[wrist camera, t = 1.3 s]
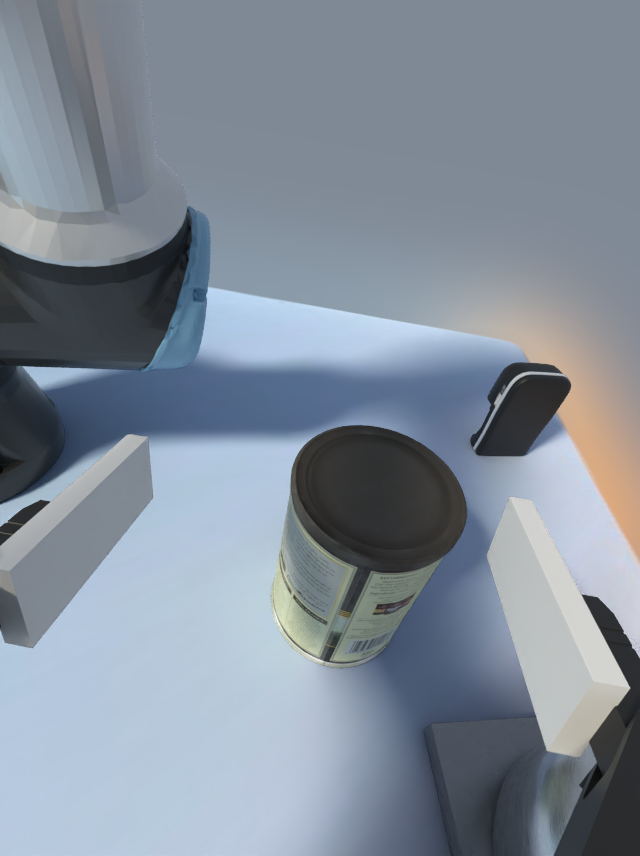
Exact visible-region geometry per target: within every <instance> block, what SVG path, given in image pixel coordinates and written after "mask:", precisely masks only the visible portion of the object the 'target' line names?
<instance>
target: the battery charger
mask: <svg viewBox="0 0 640 856" xmlns="http://www.w3.org/2000/svg"><path fill="white" fill-rule="evenodd" d="M570 389H571V383H570V381H569V379H568V377H567V376H566V375H564V374H562V373H561V372H560V370H559V369H557V368H556V367H555V366H553V365H548V364H539V363H513V364H511V365H509V366H507V367H506V368H505V369H504V370H503V372H502V373H501V374H500V376H499V378H498V379H497V381H496V382H495V384H494V386H493V388H492V389H491V391H490V393H489V395H488V400H489V402H490V403H491V406H490V411H489V413H488V415H487V417H486V419H485V421H484V423H483V425H482V427H481V428H480V430H479V431H478V432H477V433H476V434H473V435H472V437H471V444H472V446H473V449H474V451H475V452H476V453H477V454H478V455H497V456H514V455H525V454H526V453H527V451H528V450H529V448H530V447H531V445H532V444H533V442H534V441H535V439H536V438H537V437H538V435H539V434H540V433H541V431H542V430H543V429H544V427H545V426H546V425H547V423H548V422H549V421H550V419H551V418H552V417H553V415H554V414H555V413H556V411H557V410H558V408H559V407H560V405H561V404H562V402H563V401H564V399H565V398H566V396H567V395H568V393H569V391H570Z"/></svg>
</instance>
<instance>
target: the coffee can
mask: <svg viewBox="0 0 640 856" xmlns="http://www.w3.org/2000/svg"><path fill="white" fill-rule="evenodd" d="M466 518H467V507H466V501H465V497H464V494H463V491H462V489H461V487H460V484H459V482H458V480H457V479H456V477H455V475H454V474H453V472H452V471H451V470H450V468H449V467H448V466H447V465H446V464H445V463H444V461H443V460H441V459H440V458H439V457H438V456H437V455H436V454H435V453H434V452H432V451H431V450H430V449H428V448H427V447H425V446H424V445H422V444H421V443H419V442H417V441H415V440H414V439H412V438H410V437H408V436H406V435H403V434H401V433H398V432H395V431H392V430H388V429H384V428H379V427H374V426H363V425H354V426H342V427H337V428H334V429H330V430H327V431H325V432H323V433H321V434H319V435H317V436H315V437H314V438H312V439H311V440H310V441H309V442H307V443H306V444H305V445H304V446H303V448H302V449H301V450H300V452H299V453H298V455H297V457H296V459H295V461H294V464H293V467H292V473H291V491H290V497H289V502H288V507H287V513H286V519H285V524H284V530H283V536H282V541H281V547H280V553H279V558H278V564H277V569H276V575H275V578H274V582H273V586H272V592H271V604H272V611H273V615H274V619H275V621H276V624H277V626H278V628H279V630H280V632H281V633H282V635H283V636H284V638H285V639H286V640H287V641H288V643H289V644H290V645H291V647H292V648H294V649H295V650H296V651H298V652H299V653H300V654H301V655H303V656H304V657H306V658H308V659H309V660H311V661H313V662H315V663H318V664H321V665H324V666H329V667H337V668H346V667H353V666H357V665H360V664H363V663H365V662H368V661H369V660H371V659H373V658H374V657H376V656H377V655H378V654H380V653H381V652H382V651H383V650H384V649H385V647H387V645H388V644H389V642H390V640H391V639H392V637H393V635H394V633H395V631H396V629H397V628H398V626H399V625H400V623H401V622H402V620H403V619H404V617H405V615H406V614H407V612H408V611H409V609H410V608H411V606H412V605H413V603H414V601H415V600H416V598H417V597H418V595H419V594H420V592H421V591H422V589H423V588H424V586H425V585H426V584H427V582H428V581H429V579H430V577H431V576H432V574H433V573H434V571H435V570H436V568H437V566H438V565H439V563H440V561H441V560H442V558H443V557H444V555H446V554H447V553H448V552H449V551H450V550H451V549H452V548H453V546H454V545H455V544H456V542H457V541H458V539H459V538H460V536H461V534H462V532H463V529H464V527H465V523H466Z"/></svg>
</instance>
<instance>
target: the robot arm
mask: <svg viewBox="0 0 640 856" xmlns="http://www.w3.org/2000/svg"><path fill="white" fill-rule="evenodd" d="M151 106H152V105H151V96H150V85H149V76H148V67H147V56H146V47H145V36H144V26H143V16H142V7H141V0H0V502H2V501H4V500H6V499H8V498H10V497H12V496H14V495H16V494H18V493H19V492H21V491H23V490H24V489H26V488H28V487H29V486H30V485H32V484H33V483H35V482H36V481H37V480H38V479H40V478H41V477H42V476H43V475H44V474H45V473H46V472H47V471H48V470H49V469H50V468H51V467H52V466H53V464H54V463H55V462H56V460H57V459H58V457H59V455H60V453H61V451H62V449H63V445H64V441H65V432H64V428H63V424H62V421H61V418H60V415H59V412H58V410H57V408H56V406H55V404H54V403H53V401H52V400H51V399H50V398H49V397H48V396H47V395H46V394H45V393H43V391H42V390H41V389H40V387H39V386H38V385H37V384H36V382H35V381H34V380H33V379H32V378H31V376H30V375H29V374H28V373H27V372H26V371H25V369H24V368H23V367H22V366H33V367H61V368H89V369H118V370H139V371H143V372H146V371H150V370H152V369H167V368H182V367H185V366H187V365H188V364H190V363H191V362H192V361H193V360H194V359H195V357H196V356H197V354H198V351H199V348H200V345H201V341H202V336H203V330H204V323H205V316H206V306H207V298H206V294H207V290H208V282H209V273H210V226H209V221H208V218H207V217H206V215H205V214H203V213H202V212H200V211H196V210H195V209H193V208H191V207H190V206H189V207H187V200H186V194H185V191H184V188H183V185H182V183H181V181H180V180H179V178H178V176H177V175H176V173H175V172H174V171H173V170H172V169H171V168H170V167H169V166H168V165H167V164H166V163H165V162H164V161H163V160H162V159H160V158H159V157H158V156H157V155H156V144H155V134H154V125H153V115H152V107H151ZM152 499H153V489H152V477H151V465H150V453H149V441H148V437H144V436H137V435H131V434H128V435H126V436H125V437H124V438H123V439H122V440H121V441H120V442H118V443H117V444H116V445H115V446H114V447H113V448H112V449H110V450H109V451H108V452H107V453H106V454H105V455H104V456H102V457H101V458H100V459H99V460H98V461H97V462H96V463H94V464H93V465H92V466H91V467H90V468H89V469H88V470H86V471H85V472H84V473H83V474H82V475H81V476H80V477H78V478H77V479H76V480H75V481H74V482H73V483H72V484H70V485H69V486H68V487H67V488H66V489H65V490H64V491H62V492H61V493H60V494H59V495H58V496H57V497H56V498H54V499H53V500H52V501H51V502H50V501H44V500H40V501H38V502H36V503H34V504H32V505H30V506H27V507H25V508H23V509H22V510H20V511H19V512H18V513H17V514H16V515H14V516H13V517H12V518H11V519H10V520H8V523H5V524H4V525H2V526H1V527H0V630H1V632H2V635H3V638H4V641H5V643H9V644H14V645H19V646H24V647H29V648H33V647H34V646H35V645H36V644H37V642H38V641H39V640H40V639H41V637H42V636H43V635H44V634H45V632H46V631H47V630H48V629H49V627H50V626H51V625H52V624H53V622H54V621H55V620H56V619H57V617H58V616H59V615H60V614H61V612H62V611H63V610H64V609H65V607H66V606H67V605H68V604H69V602H70V601H71V600H72V599H73V597H74V596H75V595H76V594H77V592H78V591H79V590H80V589H81V587H82V586H83V585H84V584H85V582H86V581H87V580H88V579H89V577H90V576H91V575H92V574H93V572H94V571H95V570H96V569H97V567H98V566H99V565H100V564H101V562H102V561H103V560H104V559H105V557H106V556H107V555H108V554H109V552H110V551H111V550H112V549H113V547H114V546H115V545H116V544H117V542H118V541H119V540H120V539H121V537H122V536H123V535H124V534H125V532H126V531H127V530H128V529H129V527H130V526H131V525H132V524H133V522H134V521H135V520H136V519H137V517H138V516H139V515H140V514H141V512H142V511H143V510H144V509H145V507H146V506H147V505H148V504H149V502H150V501H151V500H152ZM487 559H488V562H489V565H490V568H491V572H492V575H493V578H494V581H495V585H496V588H497V591H498V594H499V597H500V601H501V604H502V607H503V610H504V614H505V617H506V620H507V623H508V627H509V630H510V633H511V636H512V640H513V643H514V646H515V649H516V653H517V656H518V659H519V662H520V666H521V669H522V672H523V675H524V679H525V682H526V685H527V688H528V692H529V695H530V698H531V701H532V704H533V708H534V711H535V714H536V717H537V721H538V724H539V727H540V730H541V734H542V737H543V740H544V743H545V747H546V750H547V751H549V752H555V753H560V754H565V755H570V756H575V757H580V756H581V755H582V753H583V752H584V750H585V749H586V748H587V746H588V745H589V744H590V746H591V748H592V751H593V753H594V756H595V758H596V761H597V763H596V764H595V765H594V767H593V768H592V769H591V770H590V772H589V773H588V774H587V775H586V777H585V778H584V779H583V781H582V782H581V783H580V784H579V786H580V787H581V788H582V789H583V790H582V792H581V794H580V796H579V799H578V801H577V803H576V805H575V808H574V810H573V812H572V814H571V817H570V819H569V821H568V824H567V826H566V828H565V830H564V833H563V835H562V837H561V839H560V842H559V844H558V846H557V848H556V851H555V853H554V855H553V856H640V658H639V657H638V655H637V653H636V651H635V650H634V649H632V644H631V643H630V641H629V639H628V638H627V636H626V634H624V633H623V632H624V631H623V629H622V627H621V626H620V624H619V622H618V620H617V619H616V617H615V615H614V614H613V613H612V612H611V611H610V610H609V609H608V607H607V606H606V605H605V604H604V603H603V602H602V601H601V600H600V599H599V598H598V597H593V596H587V595H581V593H580V591H579V589H578V588H577V586H576V584H575V582H574V580H573V578H572V576H571V574H570V572H569V570H568V568H567V567H566V565H565V563H564V561H563V559H562V557H561V555H560V553H559V551H558V549H557V547H556V546H555V544H554V542H553V540H552V538H551V536H550V534H549V532H548V530H547V528H546V527H545V525H544V523H543V521H542V519H541V517H540V515H539V513H538V511H537V509H536V507H535V506H534V504H533V502H532V500H526V499H520V498H514V497H509V499H508V502H507V505H506V507H505V510H504V512H503V515H502V517H501V520H500V523H499V525H498V528H497V530H496V533H495V535H494V538H493V540H492V543H491V546H490V548H489V551H488V553H487Z"/></svg>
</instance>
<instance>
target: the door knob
mask: <svg viewBox="0 0 640 856" xmlns="http://www.w3.org/2000/svg"><path fill="white" fill-rule="evenodd" d="M424 734H425V739H426V743H427V748H428V752H429V757H430V761H431V765H432V770H433V774H434V779H435V783H436V788H437V792H438V797H439V801H440V806H441V810H442V815H443V819H444V824H445V828H446V833H447V837H448V842H449V846H450V850H451V855H452V856H553V855H554V853H555V851H556V848H557V846H558V844H559V842H560V839H561V837H562V835H563V833H564V830H565V828H566V826H567V824H568V821H569V819H570V817H571V814H572V812H573V810H574V808H575V805H576V803H577V801H578V799H579V796H580V794H581V792H582V790H583V789H582V788H581V787H580V786H579V784H580V783H581V782H582V781H583V779H584V778H585V777H586V775H587V774H588V773H589V772H590V770H591V769H592V768H593V767H594V765H595V764H596V763H597V761H596V758H595V756H594V753H593V751H592V748H591V746H590V744H589V745H588V746H587V748H586V749H585V750H584V752H583V753H582V755H581V756H580V757H575V756H570V755H565V754H560V753H555V752H549V751H547V750H546V747H545V743H544V740H543V737H542V734H541V730H540V727H539V724H538V721H537V717H527V718H511V719H495V720H479V721H463V722H447V723H431V724H430V725H429V726H428V727H426V728H425V729H424Z"/></svg>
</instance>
